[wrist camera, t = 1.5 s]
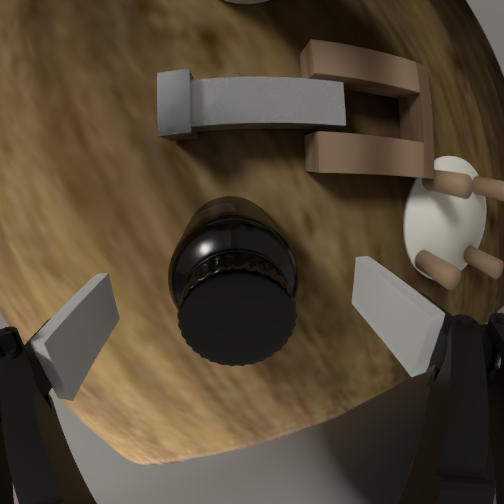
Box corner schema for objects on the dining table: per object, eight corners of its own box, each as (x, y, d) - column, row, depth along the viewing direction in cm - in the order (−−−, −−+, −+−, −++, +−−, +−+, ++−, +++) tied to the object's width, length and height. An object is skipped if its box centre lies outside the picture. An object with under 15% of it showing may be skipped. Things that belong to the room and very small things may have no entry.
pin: (171, 141, 19) (158, 136, 15) (170, 89, 18) (157, 73, 14) (330, 136, 20) (352, 131, 16) (327, 86, 18) (348, 72, 14)
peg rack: (379, 219, 22) (415, 236, 17) (451, 130, 20) (490, 130, 15) (435, 299, 26) (464, 323, 21) (493, 219, 24) (525, 231, 18)
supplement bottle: (182, 272, 22) (148, 371, 11) (193, 188, 20) (152, 221, 9) (264, 284, 23) (295, 387, 12) (282, 203, 21) (342, 251, 10)
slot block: (305, 170, 21) (319, 172, 17) (299, 55, 18) (310, 39, 14) (410, 175, 21) (434, 178, 18) (404, 73, 18) (426, 65, 15)
